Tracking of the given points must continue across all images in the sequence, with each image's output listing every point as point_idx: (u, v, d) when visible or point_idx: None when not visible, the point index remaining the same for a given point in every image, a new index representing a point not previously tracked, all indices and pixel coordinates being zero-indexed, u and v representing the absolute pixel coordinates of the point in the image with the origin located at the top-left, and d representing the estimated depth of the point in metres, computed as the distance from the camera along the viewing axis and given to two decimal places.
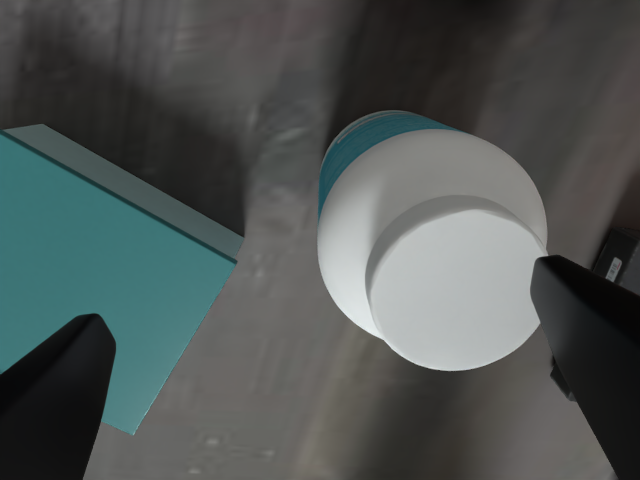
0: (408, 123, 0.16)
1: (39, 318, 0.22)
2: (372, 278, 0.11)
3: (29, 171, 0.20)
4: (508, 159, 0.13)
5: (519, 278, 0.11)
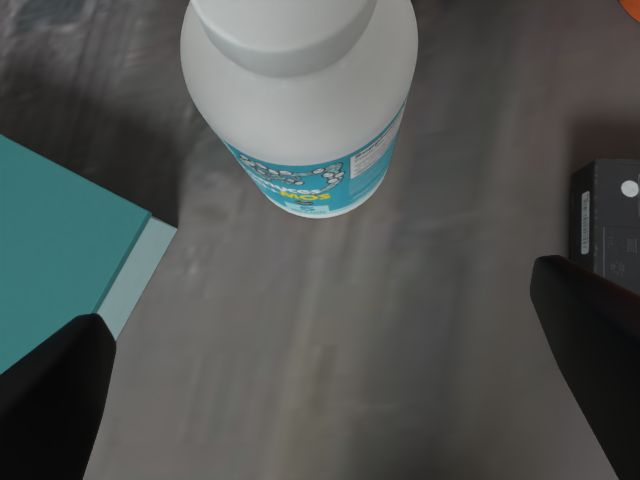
0: None
1: None
2: None
3: None
4: None
5: None
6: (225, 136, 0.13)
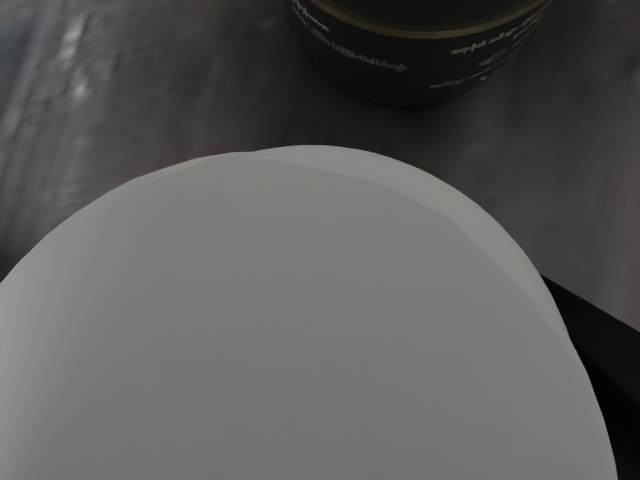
0: None
1: None
2: None
3: None
4: (423, 172, 0.06)
5: (458, 400, 0.03)
6: None
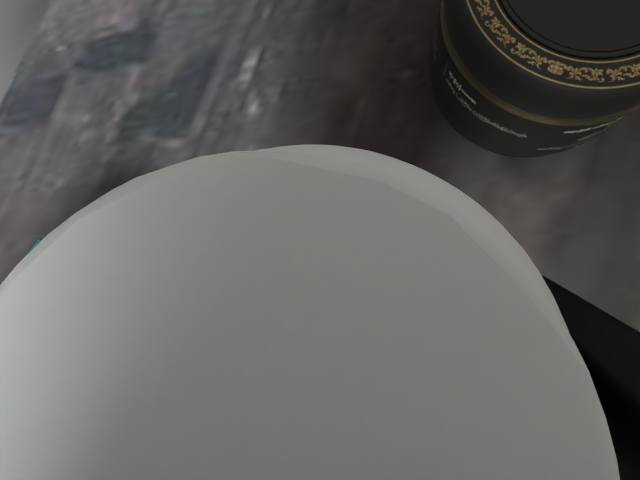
0: None
1: None
2: None
3: None
4: (424, 171, 0.06)
5: (459, 399, 0.03)
6: None
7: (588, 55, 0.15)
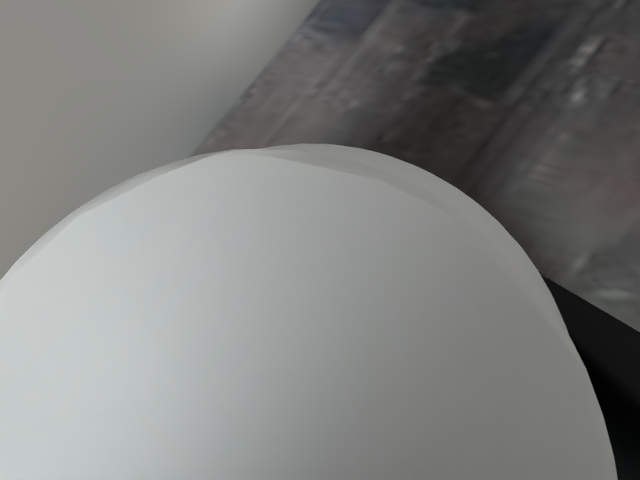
0: None
1: None
2: None
3: None
4: (423, 170, 0.06)
5: (456, 396, 0.03)
6: None
7: None
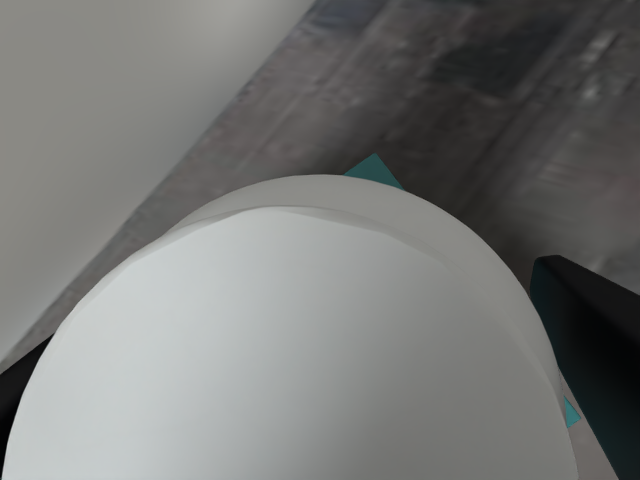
0: None
1: None
2: (7, 448, 0.04)
3: None
4: (421, 200, 0.07)
5: (449, 414, 0.03)
6: None
7: None
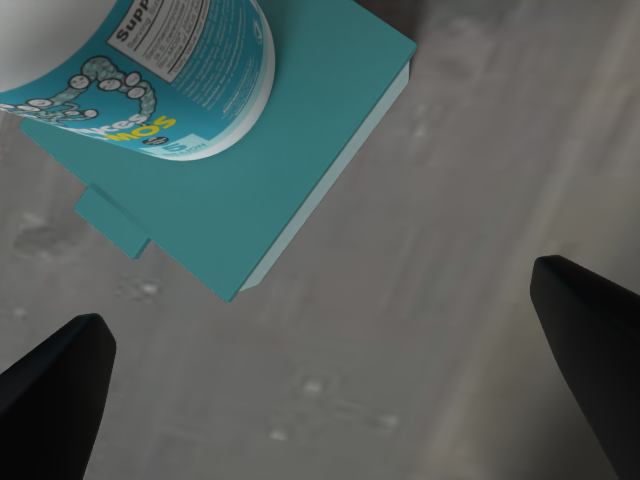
0: None
1: None
2: None
3: None
4: None
5: None
6: None
7: None
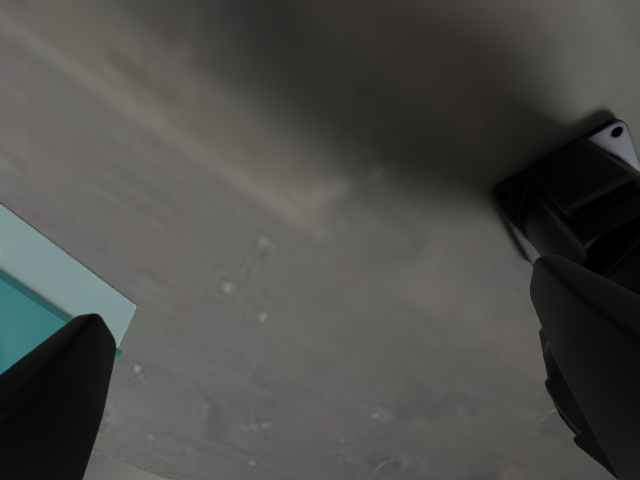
0: None
1: None
2: None
3: None
4: None
5: None
6: None
7: None
